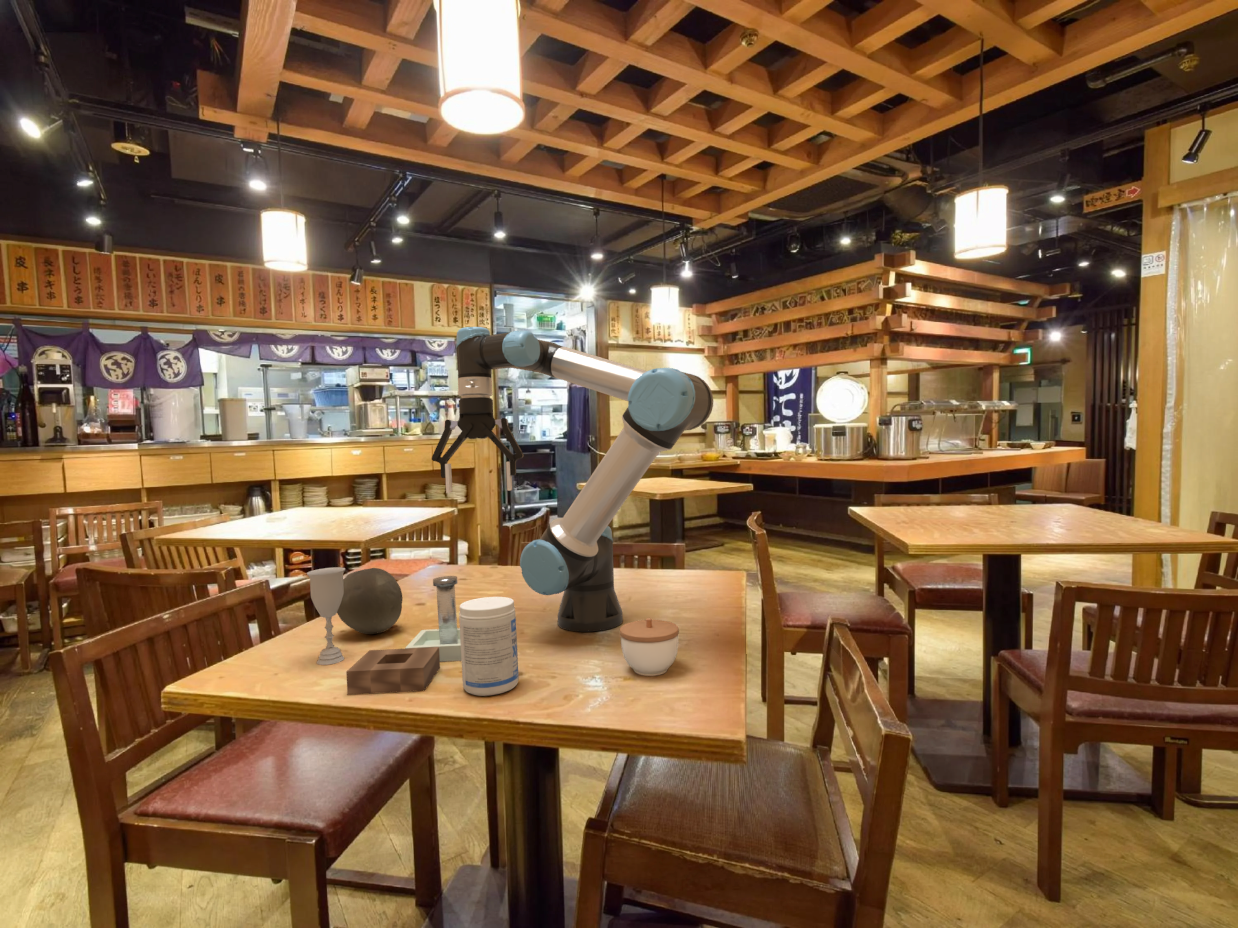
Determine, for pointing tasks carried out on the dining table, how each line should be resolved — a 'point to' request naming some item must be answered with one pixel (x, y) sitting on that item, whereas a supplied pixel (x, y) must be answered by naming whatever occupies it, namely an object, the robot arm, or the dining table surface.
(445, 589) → the metal pin
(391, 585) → the dark grey ball
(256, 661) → the dining table surface
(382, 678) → the block
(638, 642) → the lidded jar
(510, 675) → the supplement tub
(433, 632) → the tray
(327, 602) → the chalice
